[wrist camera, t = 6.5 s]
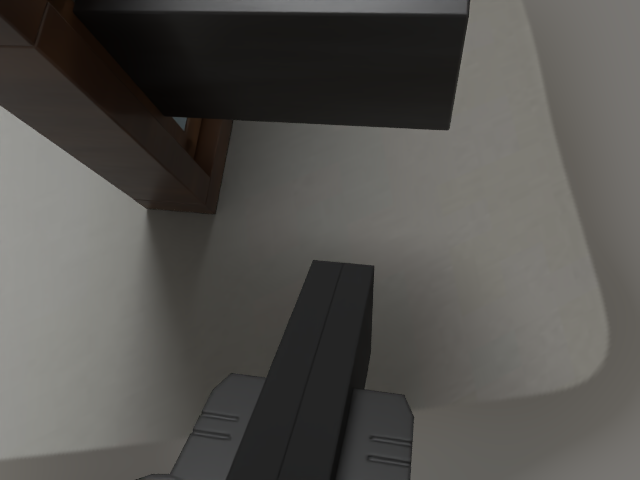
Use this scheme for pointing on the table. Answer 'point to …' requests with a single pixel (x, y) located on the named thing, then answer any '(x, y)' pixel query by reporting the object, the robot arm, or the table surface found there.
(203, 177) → the window frame
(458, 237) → the table surface
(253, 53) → the sliding pane
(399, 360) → the table surface
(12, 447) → the table surface
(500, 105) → the table surface
